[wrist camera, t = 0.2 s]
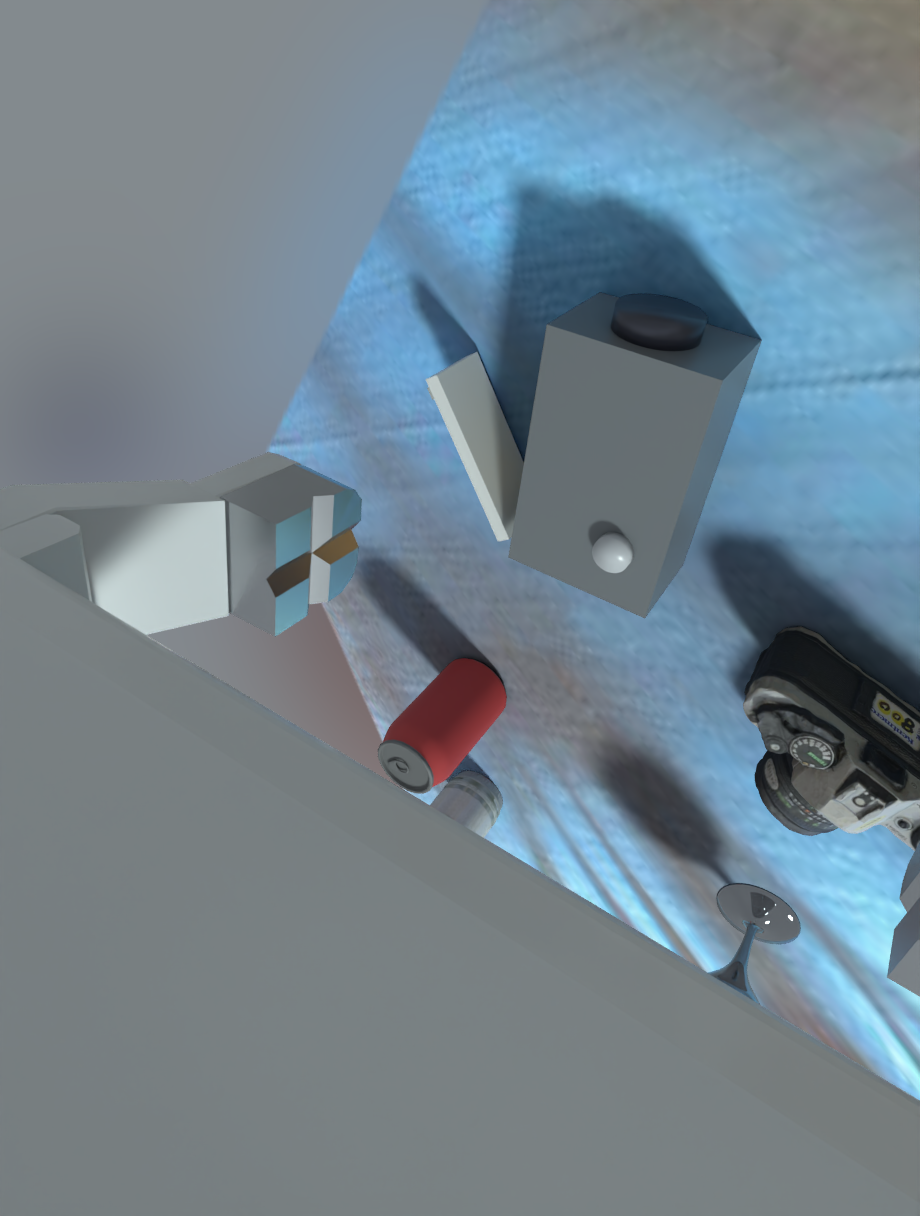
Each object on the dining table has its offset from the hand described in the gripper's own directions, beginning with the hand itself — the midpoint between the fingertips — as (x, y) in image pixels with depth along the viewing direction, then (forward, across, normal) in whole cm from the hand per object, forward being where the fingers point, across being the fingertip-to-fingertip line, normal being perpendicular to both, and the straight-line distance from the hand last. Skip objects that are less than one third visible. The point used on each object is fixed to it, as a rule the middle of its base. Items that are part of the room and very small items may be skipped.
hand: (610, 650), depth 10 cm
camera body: (+40, +11, +13) cm, 44 cm away
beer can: (+44, +20, +42) cm, 64 cm away
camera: (+42, -8, +28) cm, 51 cm away
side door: (+40, +21, +16) cm, 48 cm away
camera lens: (+45, +18, +57) cm, 75 cm away
